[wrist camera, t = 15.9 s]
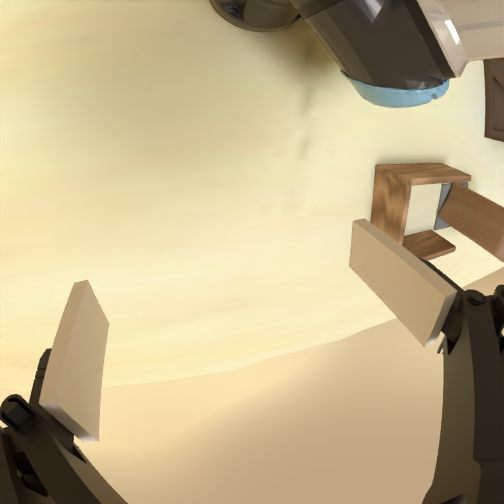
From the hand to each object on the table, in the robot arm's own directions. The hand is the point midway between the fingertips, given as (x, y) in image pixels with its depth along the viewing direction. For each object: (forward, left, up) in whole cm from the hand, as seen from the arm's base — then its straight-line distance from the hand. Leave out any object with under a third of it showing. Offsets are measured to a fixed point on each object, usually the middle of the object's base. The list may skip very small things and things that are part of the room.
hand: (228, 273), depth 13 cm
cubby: (+14, +44, -32) cm, 56 cm away
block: (+16, +61, -31) cm, 71 cm away
